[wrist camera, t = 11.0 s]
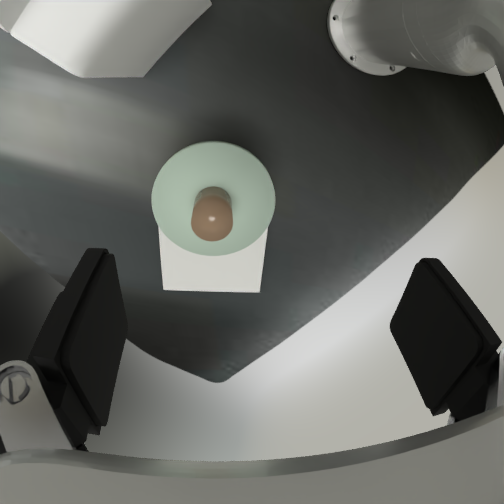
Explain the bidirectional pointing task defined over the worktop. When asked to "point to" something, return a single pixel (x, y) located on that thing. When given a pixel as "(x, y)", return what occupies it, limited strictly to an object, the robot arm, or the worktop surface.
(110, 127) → the worktop surface
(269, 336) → the worktop surface
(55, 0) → the milk
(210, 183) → the lid
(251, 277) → the mat
